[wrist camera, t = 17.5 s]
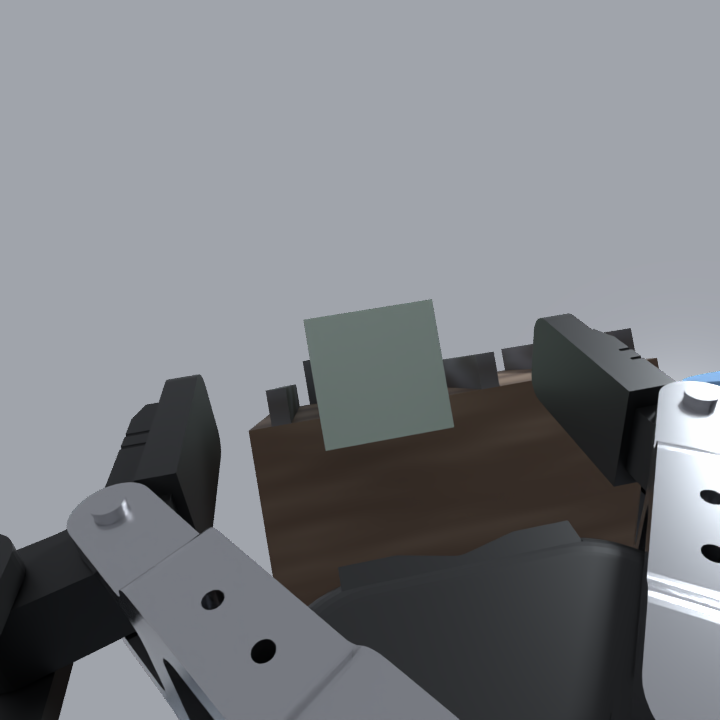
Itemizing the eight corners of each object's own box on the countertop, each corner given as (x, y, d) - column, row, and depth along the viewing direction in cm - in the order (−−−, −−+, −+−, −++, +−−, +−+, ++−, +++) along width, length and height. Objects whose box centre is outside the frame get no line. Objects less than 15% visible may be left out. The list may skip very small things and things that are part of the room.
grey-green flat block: (497, 552, 12) (452, 295, 12) (326, 588, 12) (281, 323, 12) (372, 435, 38) (358, 352, 38) (317, 445, 38) (303, 361, 38)
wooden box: (791, 1093, 23) (650, 324, 24) (381, 1226, 21) (242, 394, 22) (610, 823, 37) (525, 345, 37) (354, 890, 35) (270, 388, 36)
